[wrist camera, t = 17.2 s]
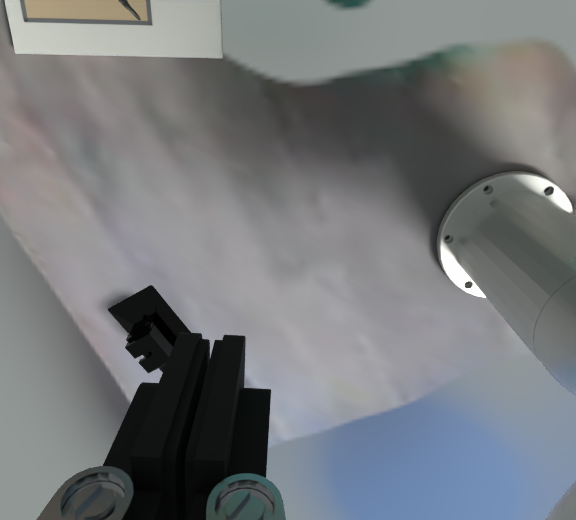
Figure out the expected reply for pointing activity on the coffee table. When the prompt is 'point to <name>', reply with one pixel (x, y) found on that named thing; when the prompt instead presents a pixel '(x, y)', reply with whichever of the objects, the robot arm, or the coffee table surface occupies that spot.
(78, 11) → the board
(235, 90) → the coffee table surface
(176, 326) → the black block on base
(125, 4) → the eagle figurine
